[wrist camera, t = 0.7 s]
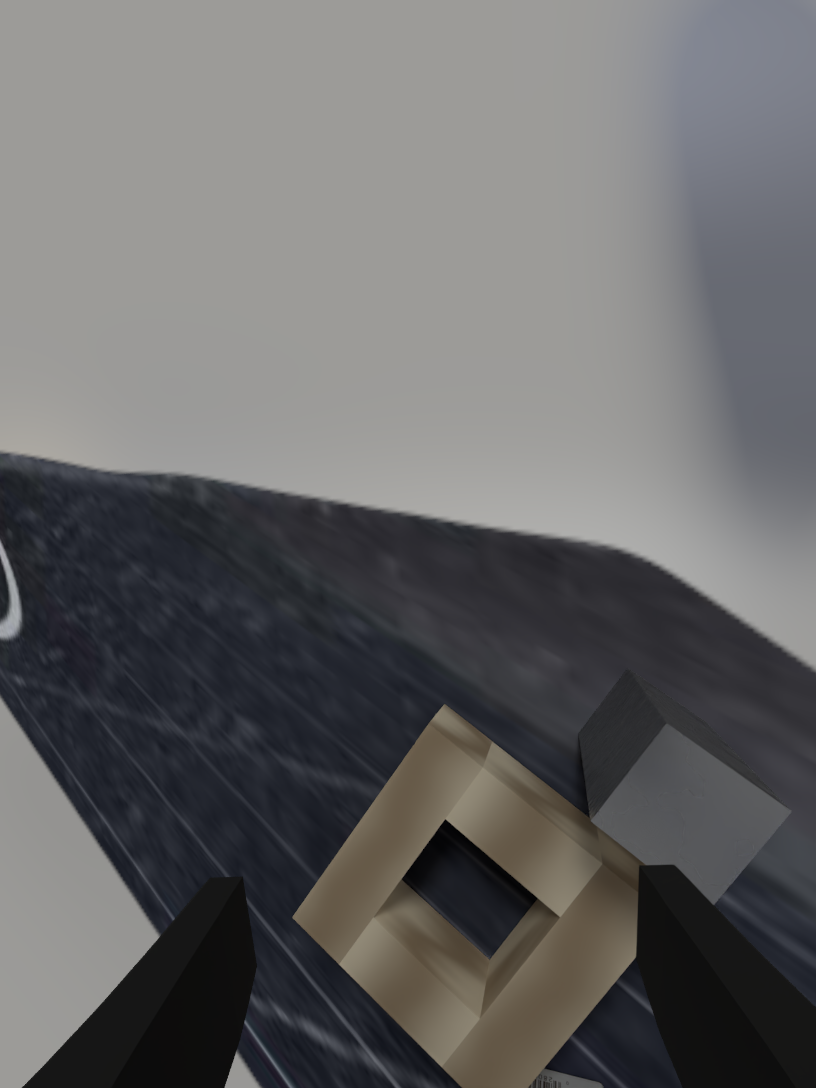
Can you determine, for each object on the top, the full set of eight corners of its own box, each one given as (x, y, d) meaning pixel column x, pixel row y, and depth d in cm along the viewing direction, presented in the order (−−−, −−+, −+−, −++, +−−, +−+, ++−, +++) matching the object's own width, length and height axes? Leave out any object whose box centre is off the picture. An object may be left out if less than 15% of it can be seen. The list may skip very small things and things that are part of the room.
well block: (652, 867, 24) (668, 917, 21) (505, 1050, 26) (498, 1123, 22) (444, 703, 27) (428, 723, 24) (323, 875, 29) (292, 917, 25)
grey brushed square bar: (705, 722, 24) (791, 811, 15) (652, 789, 24) (706, 913, 16) (627, 667, 25) (666, 723, 16) (578, 733, 25) (590, 821, 17)
